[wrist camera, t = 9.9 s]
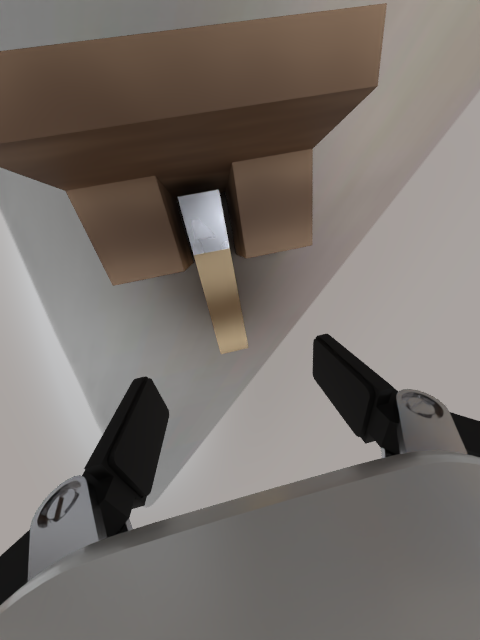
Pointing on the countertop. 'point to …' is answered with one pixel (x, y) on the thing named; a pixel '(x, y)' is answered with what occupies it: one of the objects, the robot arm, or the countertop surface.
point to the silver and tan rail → (215, 267)
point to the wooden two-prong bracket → (187, 127)
